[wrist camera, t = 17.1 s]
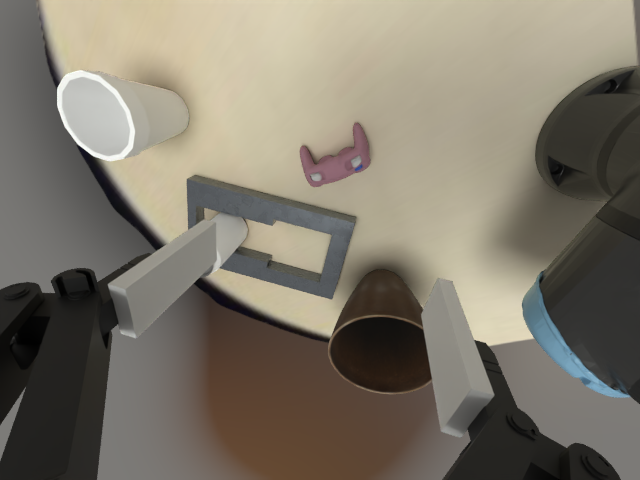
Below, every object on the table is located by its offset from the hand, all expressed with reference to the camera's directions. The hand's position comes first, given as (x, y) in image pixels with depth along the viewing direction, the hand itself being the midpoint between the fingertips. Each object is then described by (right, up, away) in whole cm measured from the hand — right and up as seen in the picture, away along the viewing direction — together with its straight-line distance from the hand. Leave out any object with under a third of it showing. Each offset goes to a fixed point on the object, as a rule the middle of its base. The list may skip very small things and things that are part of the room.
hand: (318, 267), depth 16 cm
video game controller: (+3, +15, +25) cm, 29 cm away
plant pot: (+11, -7, +35) cm, 37 cm away
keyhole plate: (-9, +2, +34) cm, 35 cm away
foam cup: (-23, +21, +27) cm, 41 cm away
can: (-16, +4, +34) cm, 38 cm away
